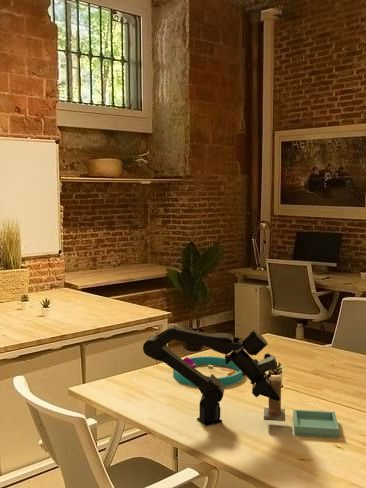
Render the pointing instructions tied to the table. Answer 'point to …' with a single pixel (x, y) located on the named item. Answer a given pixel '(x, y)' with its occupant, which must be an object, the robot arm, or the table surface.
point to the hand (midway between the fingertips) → (278, 397)
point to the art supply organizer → (211, 360)
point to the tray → (315, 423)
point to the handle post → (275, 403)
